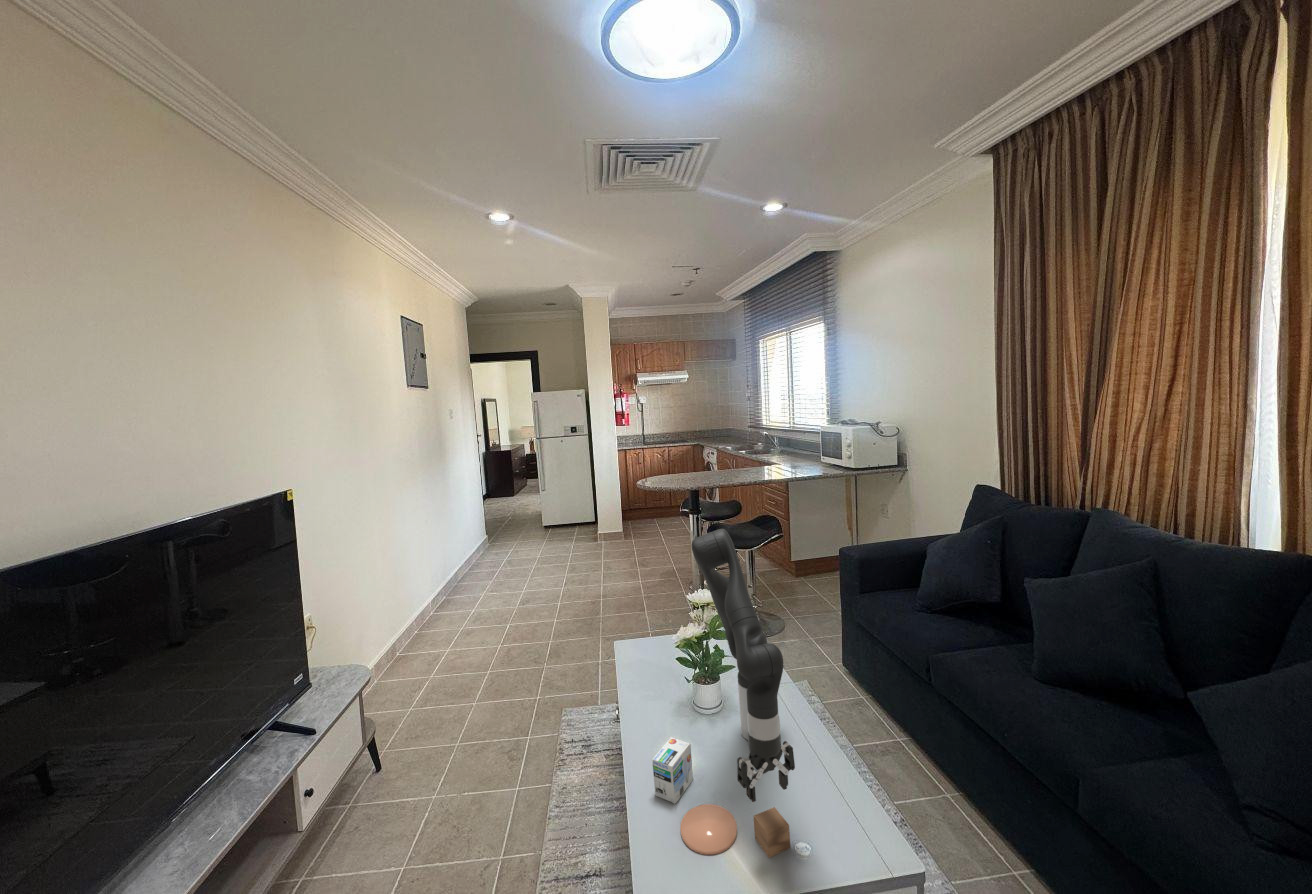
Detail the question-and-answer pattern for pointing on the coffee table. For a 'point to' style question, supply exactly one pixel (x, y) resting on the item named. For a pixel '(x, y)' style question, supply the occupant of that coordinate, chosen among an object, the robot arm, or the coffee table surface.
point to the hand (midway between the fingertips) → (767, 793)
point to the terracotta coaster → (708, 829)
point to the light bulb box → (672, 769)
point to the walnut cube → (771, 832)
